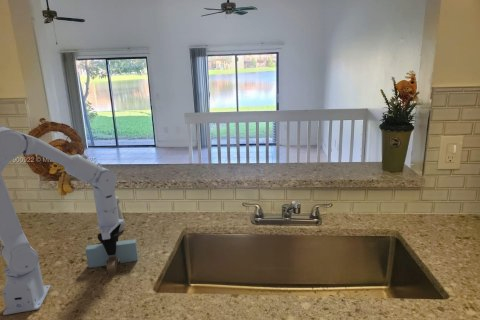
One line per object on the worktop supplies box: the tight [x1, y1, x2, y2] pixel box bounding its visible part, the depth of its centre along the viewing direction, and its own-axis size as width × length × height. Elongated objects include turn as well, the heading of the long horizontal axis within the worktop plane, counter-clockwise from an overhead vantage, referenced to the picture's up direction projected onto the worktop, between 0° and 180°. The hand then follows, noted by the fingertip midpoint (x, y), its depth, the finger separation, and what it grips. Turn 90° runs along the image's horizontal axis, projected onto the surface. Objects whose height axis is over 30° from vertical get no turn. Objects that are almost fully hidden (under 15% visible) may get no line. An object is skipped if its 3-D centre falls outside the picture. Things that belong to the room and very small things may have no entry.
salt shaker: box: [116, 195, 126, 233], centre depth 121 cm, size 6×6×13 cm
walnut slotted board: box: [106, 256, 119, 276], centre depth 102 cm, size 14×2×3 cm, turn 13°
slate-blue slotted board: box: [85, 238, 139, 269], centre depth 101 cm, size 2×14×6 cm, turn 103°
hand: (112, 250), depth 101 cm, fingers open, 5 cm apart
